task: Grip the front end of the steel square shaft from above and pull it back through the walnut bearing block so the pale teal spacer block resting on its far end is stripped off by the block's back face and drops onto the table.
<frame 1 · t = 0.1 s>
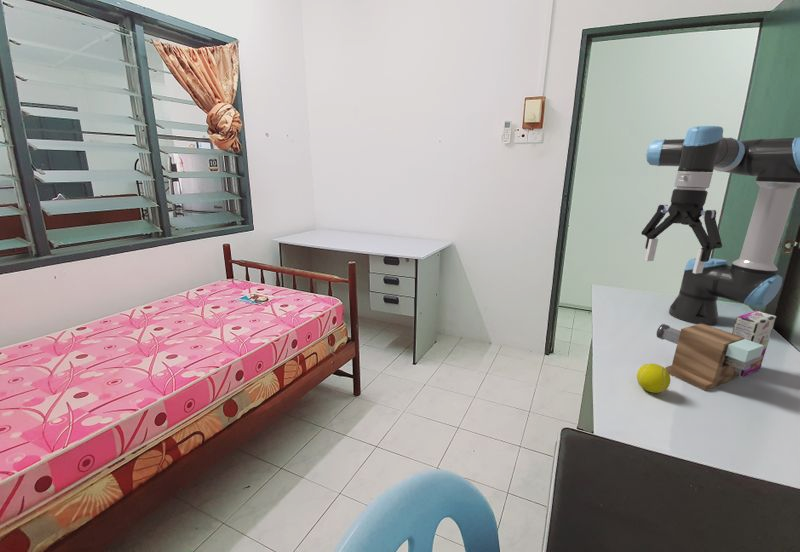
hand: (671, 266, 108), 28 cm above the table, tool pointing down, fingers open, 13 cm apart
spacer: (743, 355, 97), point 9 cm above the table, touching shaft
bearing block: (700, 374, 106), on the table
shaft: (701, 345, 105), point 8 cm above the table, slide at 0.0 cm, touching spacer
tennis ball: (650, 390, 97), on the table
candy bar box: (740, 370, 110), on the table
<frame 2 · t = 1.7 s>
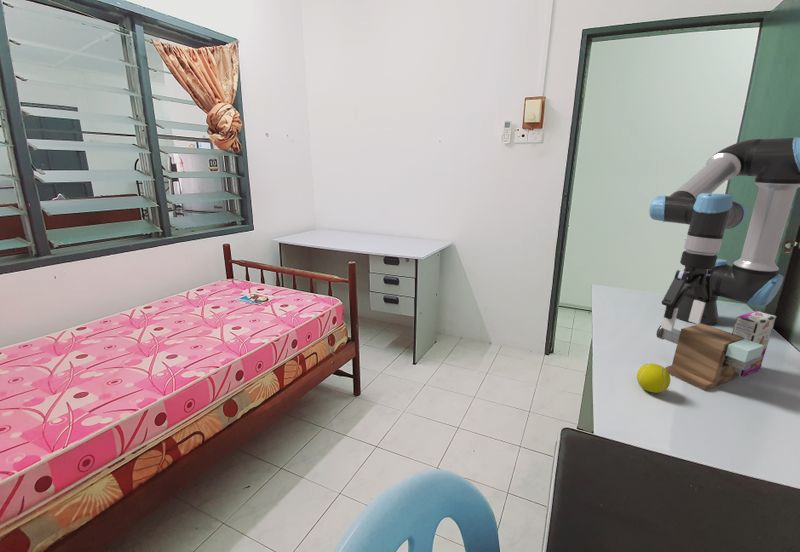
hand: (680, 325, 109), 12 cm above the table, tool pointing down, fingers open, 13 cm apart
nothing on the table moved.
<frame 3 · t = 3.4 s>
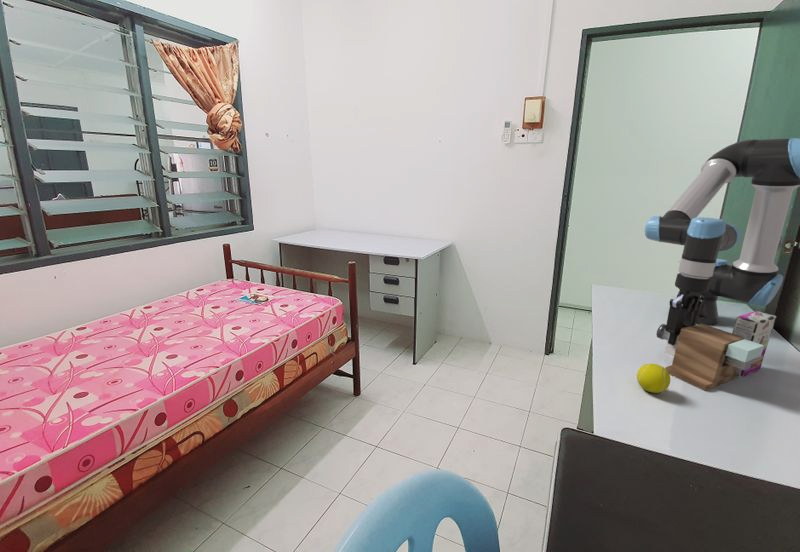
hand: (674, 352, 111), 3 cm above the table, tool pointing down, fingers closed on shaft, 3 cm apart
shaft: (701, 345, 105), point 8 cm above the table, slide at 0.0 cm, touching gripper, spacer
everything else where it was.
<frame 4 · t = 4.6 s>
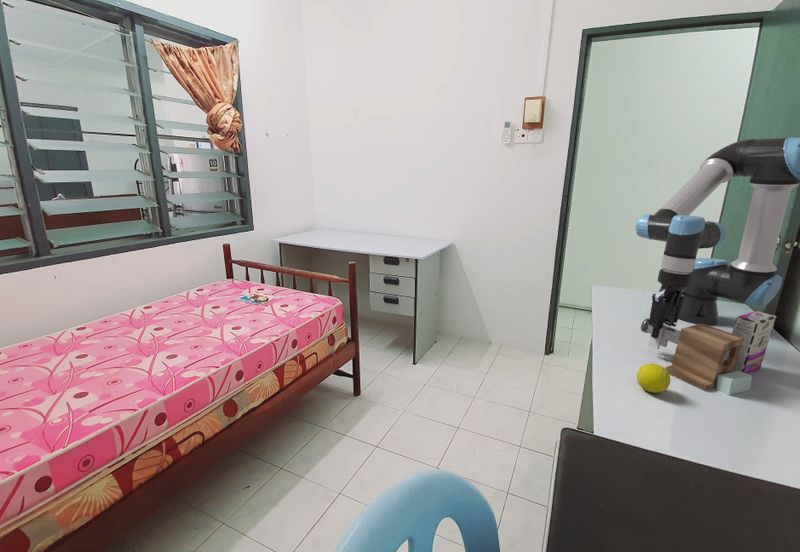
hand: (657, 346, 115), 3 cm above the table, tool pointing down, fingers closed on shaft, 3 cm apart
spacer: (727, 380, 100), point 2 cm above the table, tilted 84°
shaft: (682, 339, 109), point 8 cm above the table, slide at 4.7 cm, touching gripper
everything else where it was.
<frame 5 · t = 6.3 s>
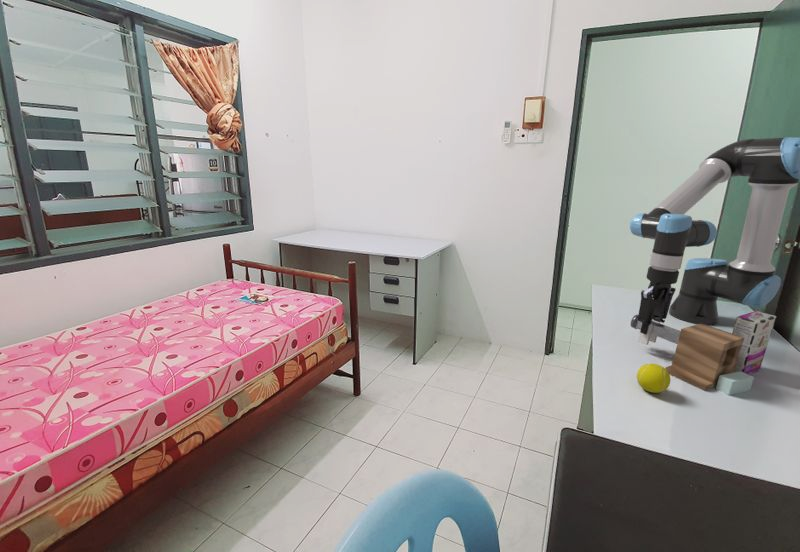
hand: (646, 341, 118), 3 cm above the table, tool pointing down, fingers closed on shaft, 3 cm apart
spacer: (728, 380, 100), point 2 cm above the table, tilted 90°
shaft: (670, 334, 112), point 8 cm above the table, slide at 7.9 cm, touching gripper
everything else where it was.
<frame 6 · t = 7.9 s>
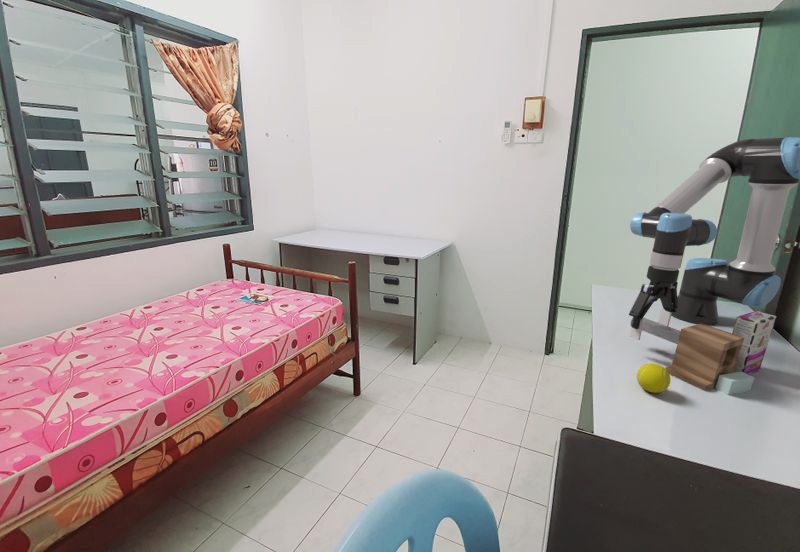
hand: (648, 334, 118), 5 cm above the table, tool pointing down, fingers open, 13 cm apart
shaft: (670, 334, 112), point 8 cm above the table, slide at 7.9 cm
everything else where it was.
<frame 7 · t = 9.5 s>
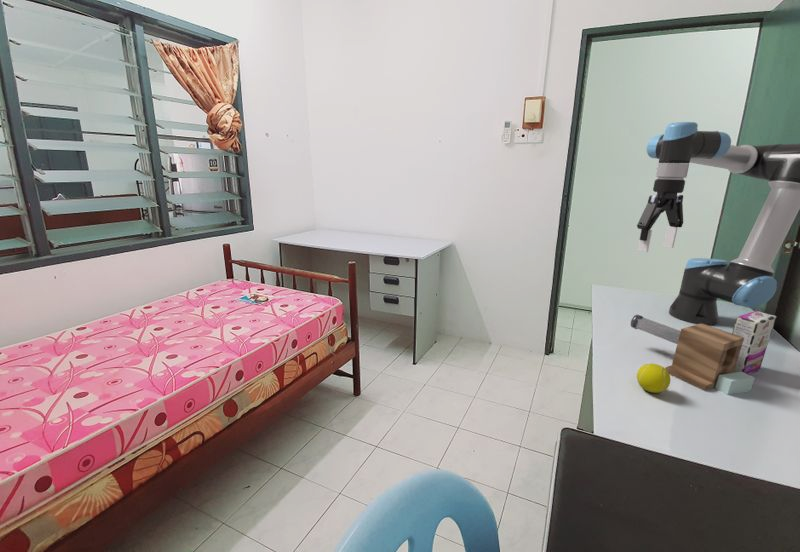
hand: (655, 249, 119), 30 cm above the table, tool pointing down, fingers open, 13 cm apart
nothing on the table moved.
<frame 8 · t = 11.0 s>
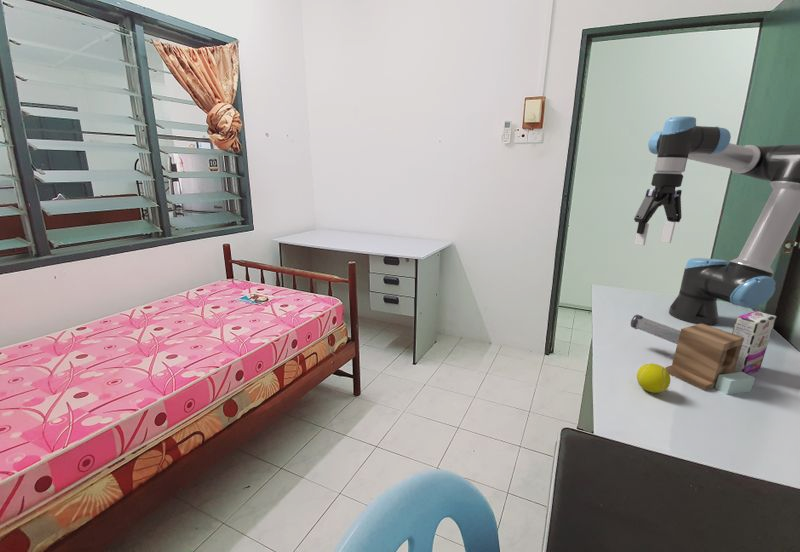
hand: (652, 243, 120), 32 cm above the table, tool pointing down, fingers open, 13 cm apart
nothing on the table moved.
at the end: shaft slide at 7.9 cm; spacer inside the target area (5.3 cm from its centre), point 1.8 cm above the table; spacer touching table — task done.
